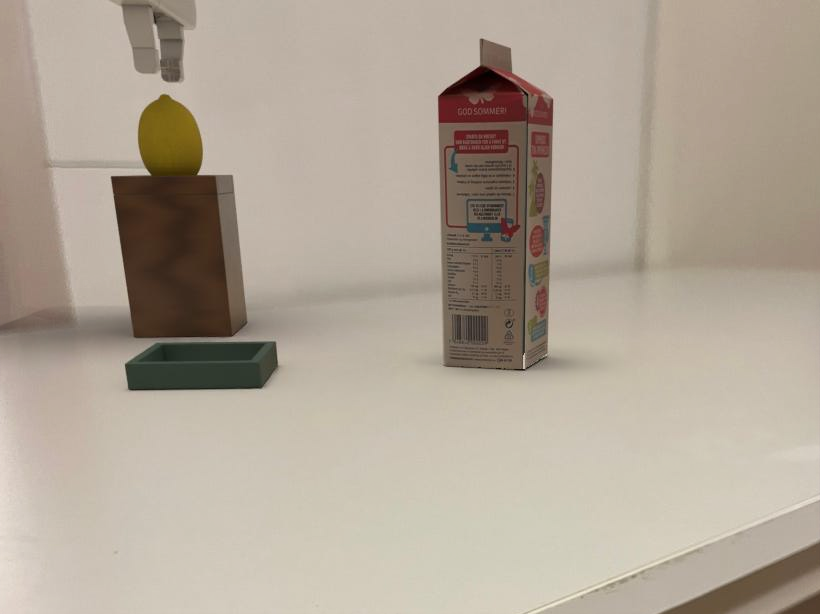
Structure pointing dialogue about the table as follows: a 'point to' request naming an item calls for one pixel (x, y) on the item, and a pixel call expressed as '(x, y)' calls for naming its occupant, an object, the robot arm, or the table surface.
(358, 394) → the table surface
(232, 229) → the brown upright box
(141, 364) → the low tray
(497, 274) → the juice carton
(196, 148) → the lemon
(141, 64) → the robot arm
